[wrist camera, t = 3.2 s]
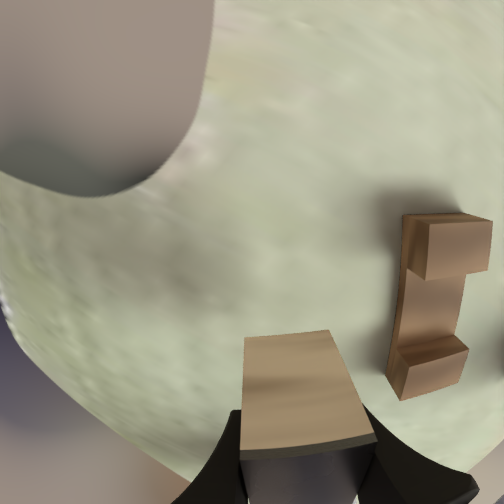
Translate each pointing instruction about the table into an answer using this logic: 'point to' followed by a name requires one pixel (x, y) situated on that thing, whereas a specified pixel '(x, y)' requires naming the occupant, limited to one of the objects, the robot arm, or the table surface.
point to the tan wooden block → (301, 422)
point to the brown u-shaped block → (433, 299)
